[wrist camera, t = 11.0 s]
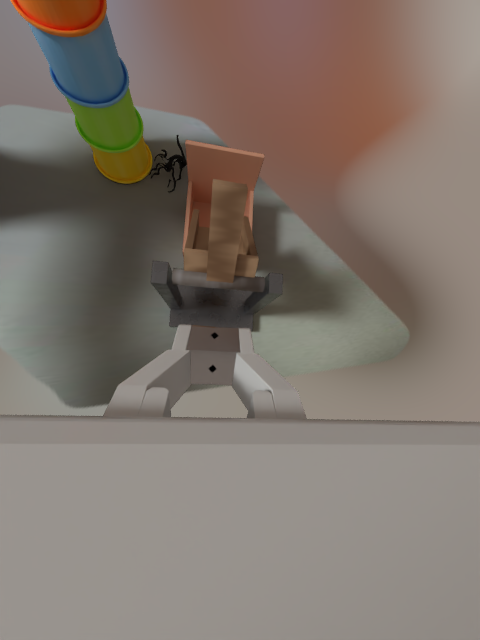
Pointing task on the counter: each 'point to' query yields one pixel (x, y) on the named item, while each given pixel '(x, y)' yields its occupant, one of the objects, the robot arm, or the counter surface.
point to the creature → (169, 164)
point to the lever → (221, 245)
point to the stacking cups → (91, 82)
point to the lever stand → (212, 301)
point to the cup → (217, 177)
